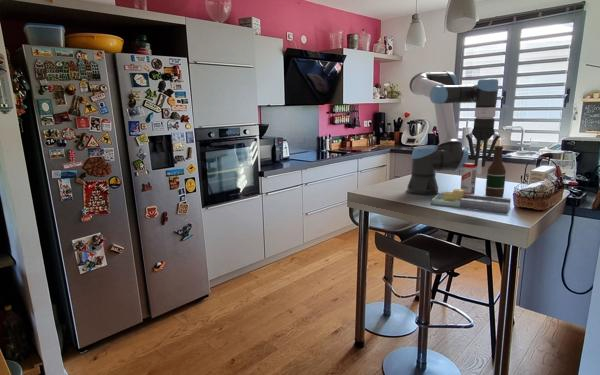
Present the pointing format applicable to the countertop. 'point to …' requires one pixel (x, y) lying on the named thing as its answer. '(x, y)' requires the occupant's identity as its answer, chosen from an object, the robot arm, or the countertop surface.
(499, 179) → the beer bottle
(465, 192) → the white red canister
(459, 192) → the chip front
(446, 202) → the tray
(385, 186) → the countertop surface
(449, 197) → the chip back
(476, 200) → the slot board
